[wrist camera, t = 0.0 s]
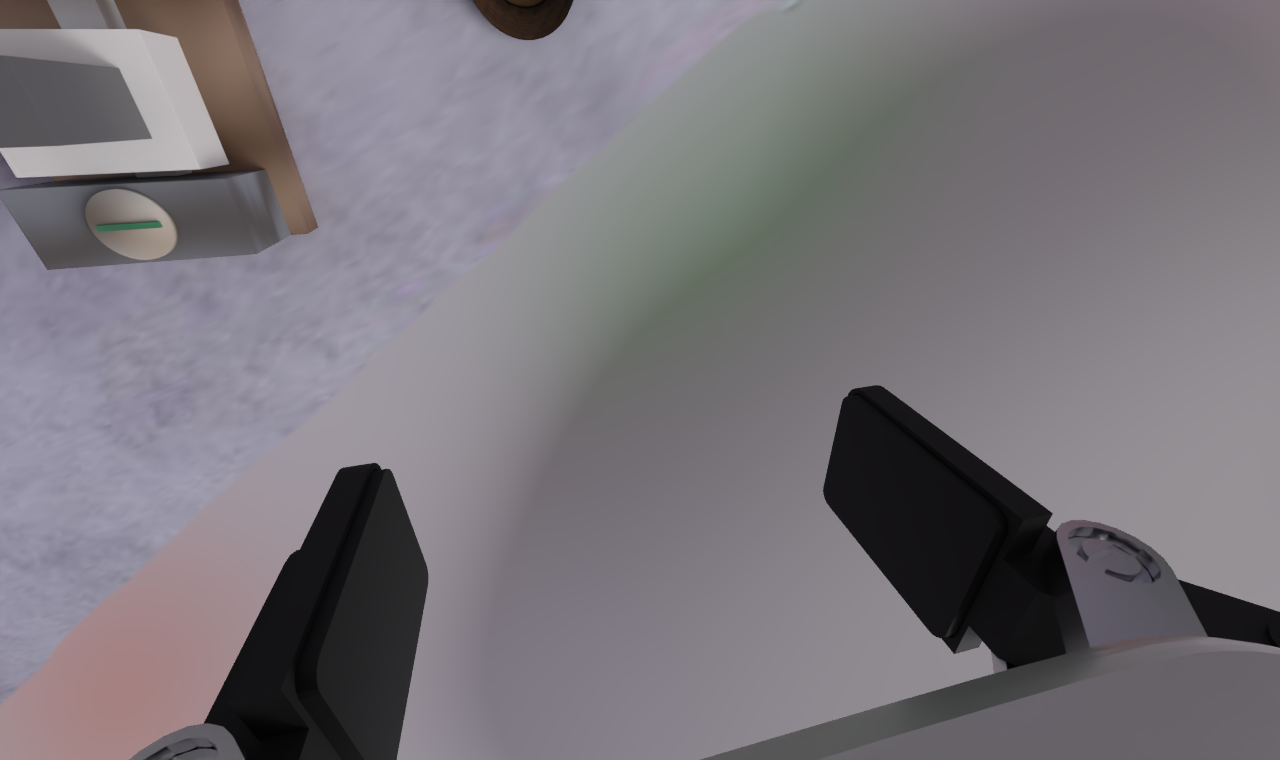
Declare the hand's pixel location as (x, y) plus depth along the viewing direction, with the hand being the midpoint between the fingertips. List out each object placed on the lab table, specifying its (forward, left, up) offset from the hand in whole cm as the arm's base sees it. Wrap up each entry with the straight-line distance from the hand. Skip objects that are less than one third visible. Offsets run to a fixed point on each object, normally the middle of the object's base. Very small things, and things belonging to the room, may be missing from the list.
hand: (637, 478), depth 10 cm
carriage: (-8, -22, -27) cm, 36 cm away
